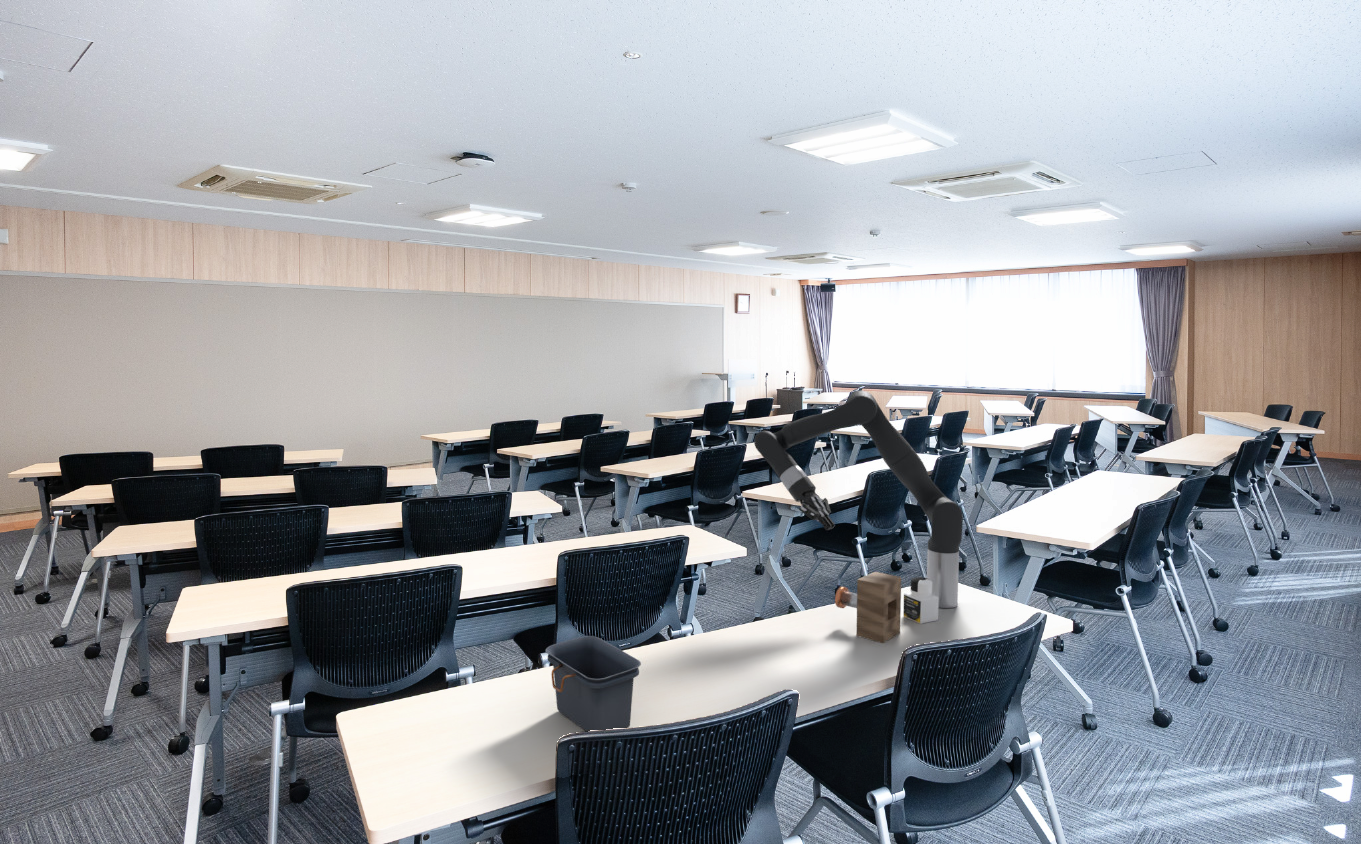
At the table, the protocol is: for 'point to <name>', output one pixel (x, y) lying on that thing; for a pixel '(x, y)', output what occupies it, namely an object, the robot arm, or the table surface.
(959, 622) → the table surface
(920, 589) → the medicine bottle
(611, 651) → the storage bin
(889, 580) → the post
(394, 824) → the table surface
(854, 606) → the pin
